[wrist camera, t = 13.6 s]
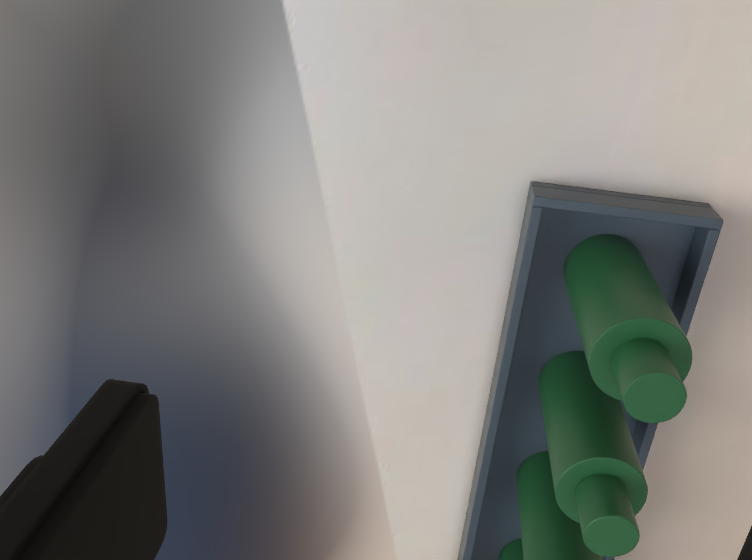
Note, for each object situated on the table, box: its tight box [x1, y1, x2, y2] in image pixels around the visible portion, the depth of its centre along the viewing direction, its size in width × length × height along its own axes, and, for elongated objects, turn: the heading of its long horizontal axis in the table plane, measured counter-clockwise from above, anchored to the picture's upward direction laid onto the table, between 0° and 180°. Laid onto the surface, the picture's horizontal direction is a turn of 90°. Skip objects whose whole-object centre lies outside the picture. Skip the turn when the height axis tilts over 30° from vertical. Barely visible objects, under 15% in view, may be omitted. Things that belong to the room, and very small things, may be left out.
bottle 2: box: [517, 451, 602, 560], centre depth 43 cm, size 5×5×14 cm
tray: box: [458, 182, 724, 560], centre depth 47 cm, size 34×10×3 cm, turn 175°
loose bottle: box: [564, 234, 692, 423], centre depth 36 cm, size 5×5×14 cm
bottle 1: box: [539, 351, 648, 557], centre depth 40 cm, size 5×5×14 cm
